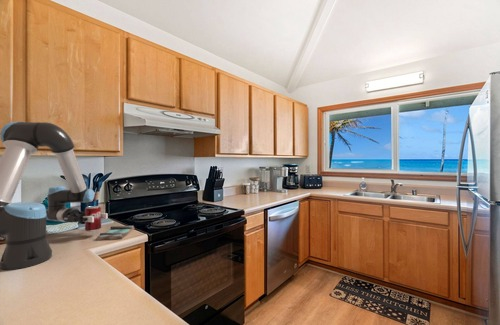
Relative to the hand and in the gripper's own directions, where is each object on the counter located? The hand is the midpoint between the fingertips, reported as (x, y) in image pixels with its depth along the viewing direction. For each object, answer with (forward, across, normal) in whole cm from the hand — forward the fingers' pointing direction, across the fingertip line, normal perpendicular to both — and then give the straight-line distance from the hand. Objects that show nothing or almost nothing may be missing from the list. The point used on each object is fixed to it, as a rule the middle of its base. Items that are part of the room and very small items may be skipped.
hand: (100, 217), depth 122 cm
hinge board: (+4, -6, -10) cm, 13 cm away
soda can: (-5, 0, -7) cm, 8 cm away
